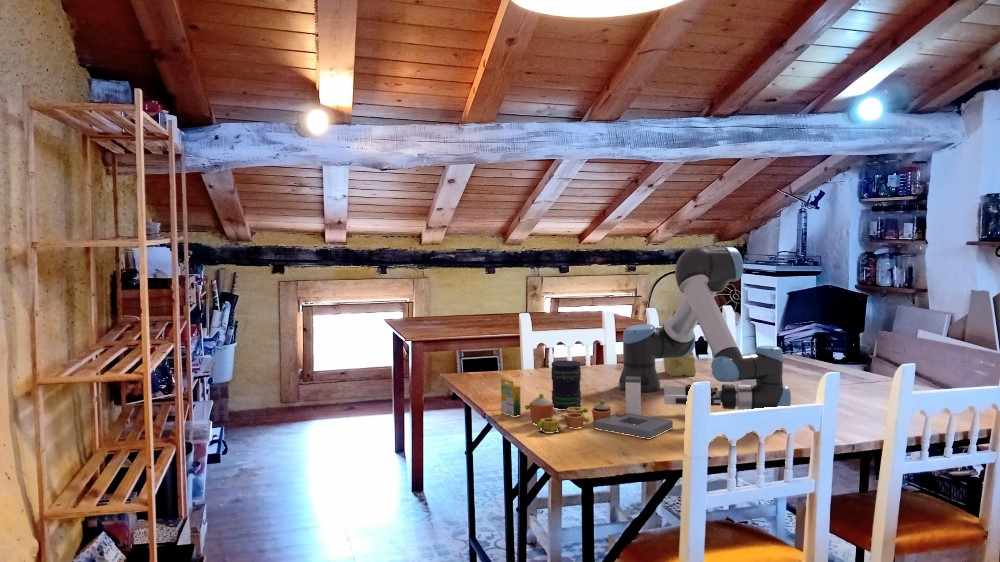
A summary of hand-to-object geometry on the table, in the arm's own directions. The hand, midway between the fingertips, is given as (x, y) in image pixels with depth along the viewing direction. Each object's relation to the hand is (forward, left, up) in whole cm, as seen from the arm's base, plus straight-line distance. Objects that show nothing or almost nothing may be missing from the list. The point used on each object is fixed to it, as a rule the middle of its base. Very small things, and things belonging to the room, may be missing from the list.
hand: (664, 394), depth 215 cm
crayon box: (-40, -27, -7) cm, 49 cm away
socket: (0, -18, -7) cm, 20 cm away
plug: (-8, -4, -7) cm, 12 cm away
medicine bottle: (+12, +45, -7) cm, 47 cm away
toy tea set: (-19, -25, -8) cm, 32 cm away
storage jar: (-31, -8, -7) cm, 33 cm away
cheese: (-26, +65, -7) cm, 70 cm away
